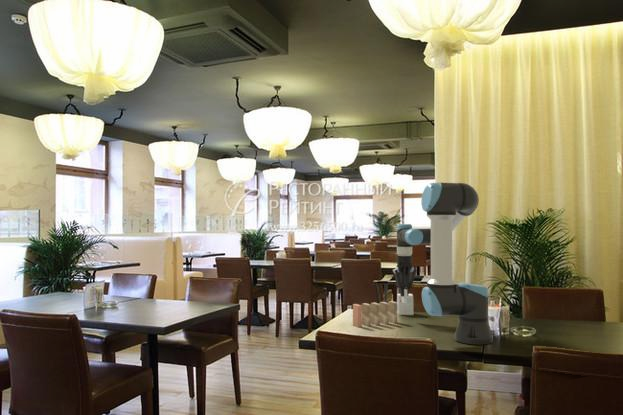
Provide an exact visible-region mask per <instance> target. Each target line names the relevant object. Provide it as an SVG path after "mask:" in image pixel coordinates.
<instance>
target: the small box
mask: <svg viewBox="0 0 623 415" xmlns="http://www.w3.org/2000/svg"><path fill="white" fill-rule="evenodd" d="M414 314H415V313H414V295H413V293H408V296H407V303H402V296H401V295H400V293H397V316H414Z"/></svg>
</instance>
